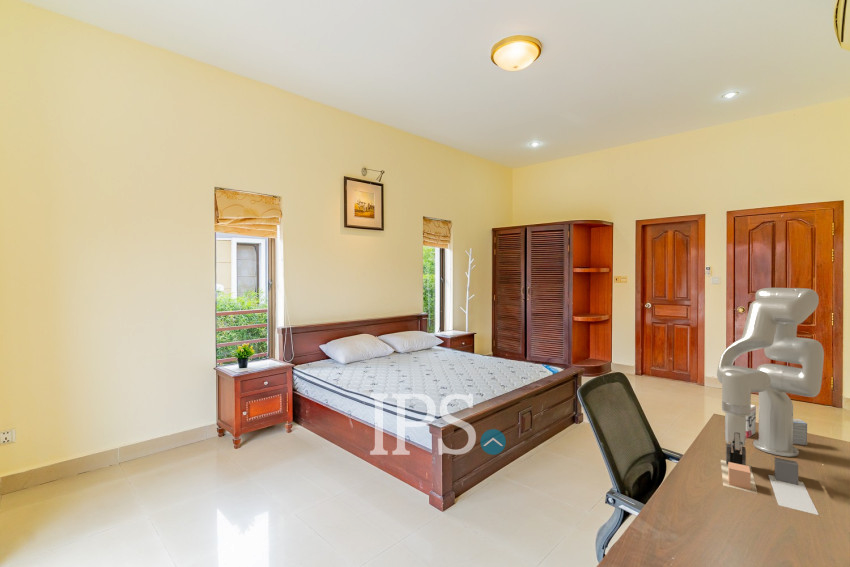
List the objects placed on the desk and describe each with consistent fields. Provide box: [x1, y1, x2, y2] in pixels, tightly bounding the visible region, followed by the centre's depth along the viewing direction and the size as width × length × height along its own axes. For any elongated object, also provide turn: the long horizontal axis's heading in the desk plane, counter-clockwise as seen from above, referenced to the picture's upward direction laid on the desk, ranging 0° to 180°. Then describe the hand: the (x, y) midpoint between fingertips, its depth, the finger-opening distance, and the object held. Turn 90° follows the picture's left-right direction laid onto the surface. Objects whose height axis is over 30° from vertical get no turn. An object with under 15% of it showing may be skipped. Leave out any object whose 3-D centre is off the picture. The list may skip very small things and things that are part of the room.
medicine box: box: [793, 418, 808, 446], centre depth 151 cm, size 8×4×9 cm, turn 71°
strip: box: [768, 457, 819, 516], centre depth 114 cm, size 20×8×7 cm, turn 145°
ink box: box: [745, 404, 757, 439], centre depth 159 cm, size 8×5×12 cm, turn 123°
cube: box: [728, 462, 751, 489], centre depth 119 cm, size 5×5×5 cm
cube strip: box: [720, 443, 759, 495], centre depth 124 cm, size 20×8×7 cm, turn 145°
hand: (735, 461), depth 131 cm, fingers closed on cube strip, 3 cm apart
